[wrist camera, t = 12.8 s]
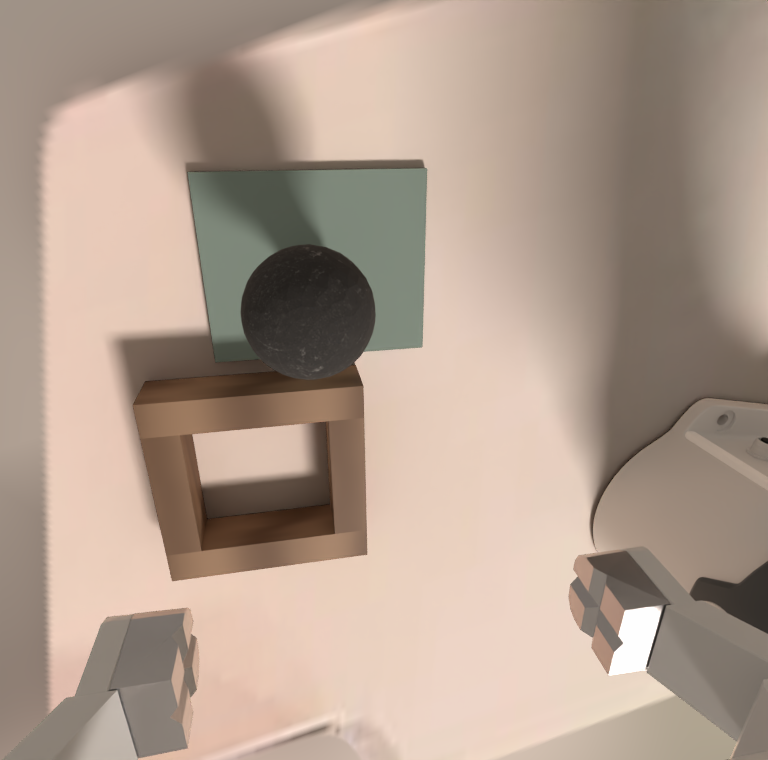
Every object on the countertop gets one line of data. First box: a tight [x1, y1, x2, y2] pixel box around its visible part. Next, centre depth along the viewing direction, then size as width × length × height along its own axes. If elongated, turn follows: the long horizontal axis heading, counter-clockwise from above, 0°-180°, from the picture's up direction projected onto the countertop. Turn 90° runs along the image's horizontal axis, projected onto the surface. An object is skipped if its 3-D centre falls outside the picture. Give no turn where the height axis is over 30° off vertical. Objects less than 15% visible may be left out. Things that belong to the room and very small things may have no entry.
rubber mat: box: [188, 168, 427, 362], centre depth 29 cm, size 12×10×1 cm
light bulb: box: [240, 244, 376, 380], centre depth 24 cm, size 6×6×10 cm
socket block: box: [133, 365, 367, 581], centre depth 32 cm, size 12×12×3 cm
